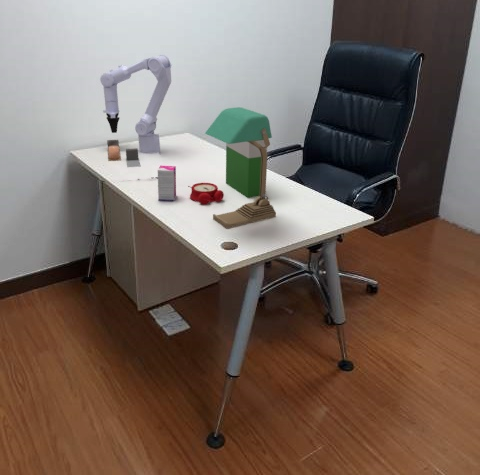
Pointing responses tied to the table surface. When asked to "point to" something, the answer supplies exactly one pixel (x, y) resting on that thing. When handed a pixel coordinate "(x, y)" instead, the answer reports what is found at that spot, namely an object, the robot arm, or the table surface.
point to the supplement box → (166, 183)
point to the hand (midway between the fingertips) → (114, 130)
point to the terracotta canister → (114, 152)
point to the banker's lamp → (256, 128)
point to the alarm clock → (206, 193)
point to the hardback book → (244, 167)
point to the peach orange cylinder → (113, 143)
